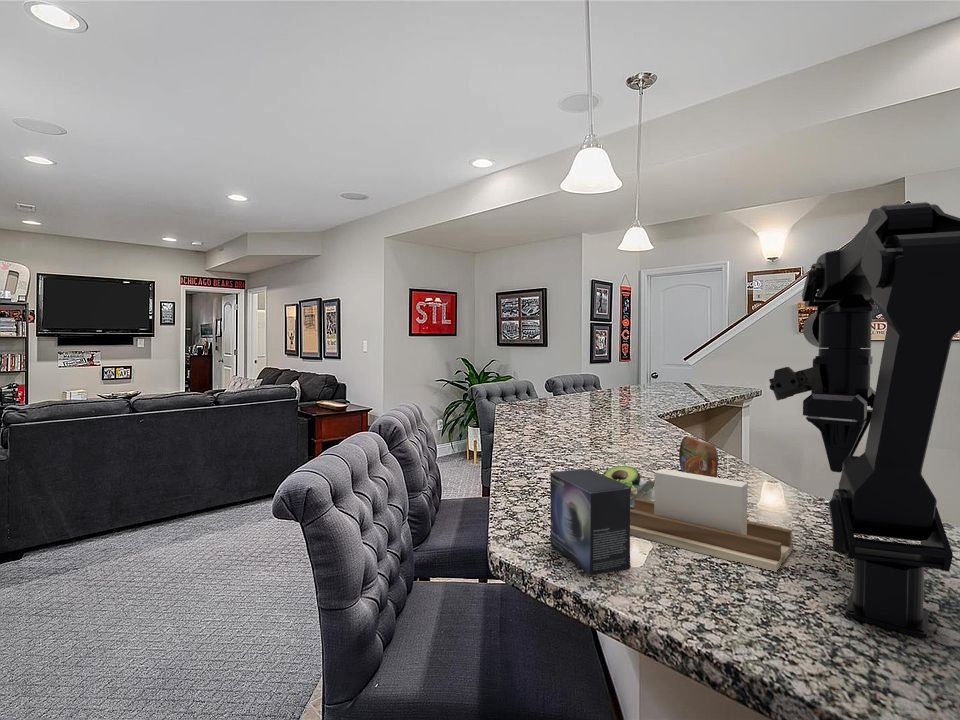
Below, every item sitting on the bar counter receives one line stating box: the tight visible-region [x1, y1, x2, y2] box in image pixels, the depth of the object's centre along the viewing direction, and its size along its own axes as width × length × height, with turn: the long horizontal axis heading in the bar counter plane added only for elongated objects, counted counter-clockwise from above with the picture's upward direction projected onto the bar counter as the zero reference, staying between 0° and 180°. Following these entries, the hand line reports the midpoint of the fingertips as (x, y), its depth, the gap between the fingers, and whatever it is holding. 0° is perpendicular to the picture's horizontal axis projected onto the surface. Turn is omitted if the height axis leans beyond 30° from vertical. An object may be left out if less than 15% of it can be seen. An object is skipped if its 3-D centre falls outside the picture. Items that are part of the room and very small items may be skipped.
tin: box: [678, 436, 719, 478], centre depth 109 cm, size 15×3×8 cm, turn 179°
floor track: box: [630, 498, 794, 573], centre depth 75 cm, size 10×22×3 cm, turn 49°
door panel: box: [653, 468, 749, 535], centre depth 75 cm, size 3×12×8 cm, turn 49°
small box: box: [549, 467, 631, 576], centre depth 69 cm, size 11×6×10 cm, turn 21°
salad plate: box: [603, 465, 655, 510], centre depth 96 cm, size 19×18×5 cm
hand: (841, 465), depth 70 cm, fingers open, 9 cm apart
